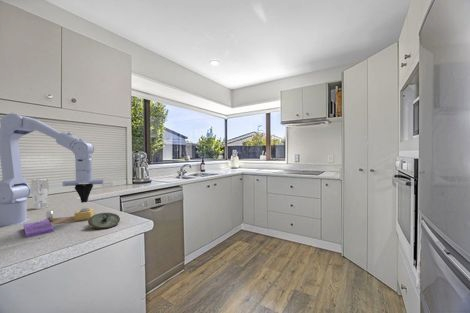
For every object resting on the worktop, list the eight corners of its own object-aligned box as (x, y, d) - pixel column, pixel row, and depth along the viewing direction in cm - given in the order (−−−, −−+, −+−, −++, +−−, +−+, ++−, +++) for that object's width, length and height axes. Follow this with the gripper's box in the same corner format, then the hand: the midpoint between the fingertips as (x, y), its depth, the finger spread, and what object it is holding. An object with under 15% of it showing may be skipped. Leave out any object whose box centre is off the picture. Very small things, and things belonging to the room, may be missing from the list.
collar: (74, 220, 86) (74, 213, 86) (79, 217, 91) (79, 210, 91) (90, 219, 88) (90, 211, 88) (94, 215, 93) (94, 208, 93)
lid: (114, 219, 89) (114, 208, 89) (124, 224, 82) (124, 211, 82) (84, 226, 80) (84, 213, 80) (93, 232, 74) (93, 218, 74)
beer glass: (28, 208, 111) (28, 180, 111) (45, 205, 117) (44, 178, 117) (34, 210, 107) (33, 180, 107) (51, 207, 114) (50, 179, 114)
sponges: (48, 223, 82) (48, 219, 82) (54, 232, 74) (53, 227, 74) (23, 229, 77) (23, 224, 77) (26, 239, 69) (25, 233, 69)
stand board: (32, 228, 80) (31, 215, 80) (45, 220, 89) (45, 209, 89) (91, 221, 86) (91, 210, 86) (97, 215, 96) (97, 205, 96)
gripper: (58, 171, 83) (59, 205, 83) (101, 170, 88) (102, 202, 88) (66, 170, 90) (66, 202, 90) (105, 169, 95) (105, 199, 95)
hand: (84, 202), depth 90 cm, fingers closed
